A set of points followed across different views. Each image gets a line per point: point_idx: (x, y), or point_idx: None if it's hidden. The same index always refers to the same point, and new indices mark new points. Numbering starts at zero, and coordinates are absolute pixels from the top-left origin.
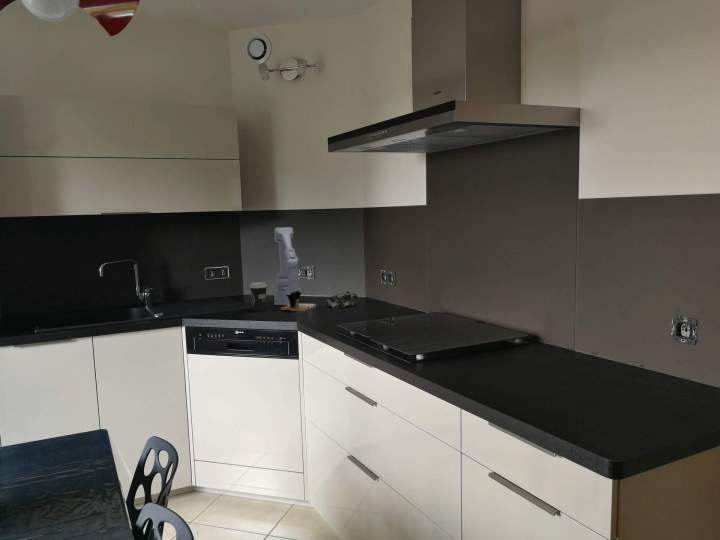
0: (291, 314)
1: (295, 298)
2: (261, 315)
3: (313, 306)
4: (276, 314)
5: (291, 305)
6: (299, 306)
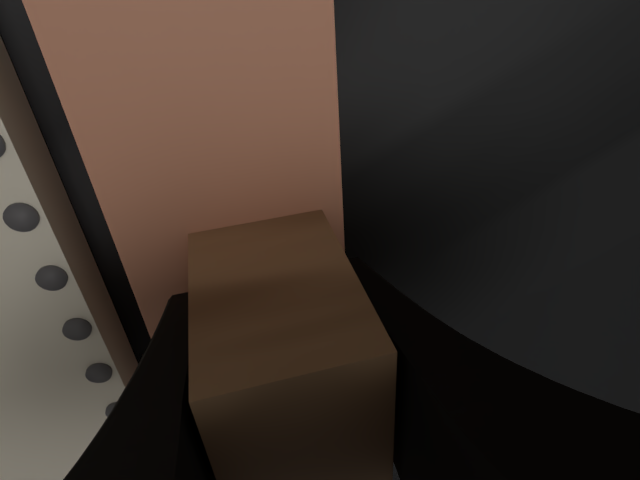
0: (628, 85)
1: (485, 384)
2: (631, 382)
3: None
4: (596, 292)
5: None
6: (79, 287)
